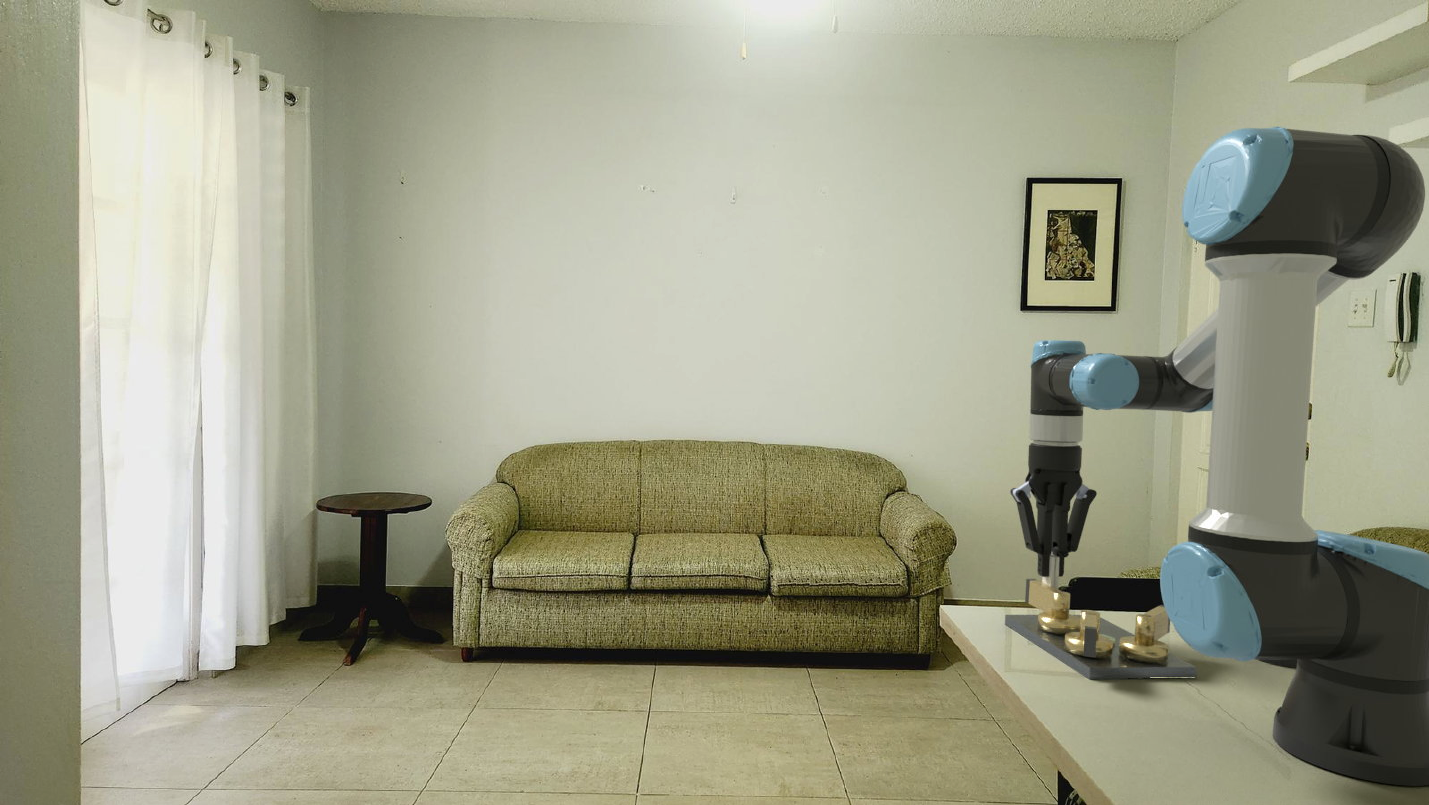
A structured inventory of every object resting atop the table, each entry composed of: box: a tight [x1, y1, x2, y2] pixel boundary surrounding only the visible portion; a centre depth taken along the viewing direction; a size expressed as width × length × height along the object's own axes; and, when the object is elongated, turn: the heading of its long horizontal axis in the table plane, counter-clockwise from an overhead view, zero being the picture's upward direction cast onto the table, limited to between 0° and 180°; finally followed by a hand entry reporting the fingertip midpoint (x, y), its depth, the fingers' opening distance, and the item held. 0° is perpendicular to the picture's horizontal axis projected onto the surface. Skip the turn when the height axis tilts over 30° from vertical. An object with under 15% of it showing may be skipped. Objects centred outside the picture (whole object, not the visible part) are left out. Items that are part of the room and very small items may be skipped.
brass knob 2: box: [1064, 609, 1113, 658], centre depth 122 cm, size 12×6×5 cm, turn 158°
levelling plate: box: [1004, 614, 1198, 680], centre depth 131 cm, size 24×15×2 cm, turn 8°
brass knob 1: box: [1024, 578, 1081, 634], centre depth 137 cm, size 12×6×5 cm, turn 11°
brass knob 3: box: [1119, 604, 1171, 662], centre depth 126 cm, size 12×6×5 cm, turn 137°
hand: (1049, 597), depth 140 cm, fingers closed
